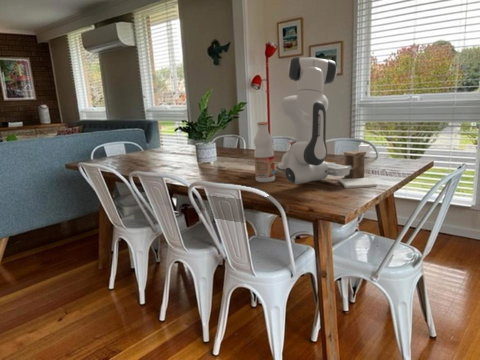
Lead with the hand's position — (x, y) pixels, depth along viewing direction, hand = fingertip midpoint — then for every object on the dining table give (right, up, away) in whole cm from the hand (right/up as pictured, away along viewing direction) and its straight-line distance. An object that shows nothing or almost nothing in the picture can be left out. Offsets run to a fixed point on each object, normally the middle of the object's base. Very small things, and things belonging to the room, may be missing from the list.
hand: (342, 165), depth 168 cm
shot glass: (+28, +7, +54) cm, 61 cm away
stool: (+7, -5, +4) cm, 9 cm away
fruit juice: (-35, -7, +9) cm, 37 cm away
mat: (+4, -8, -8) cm, 12 cm away
